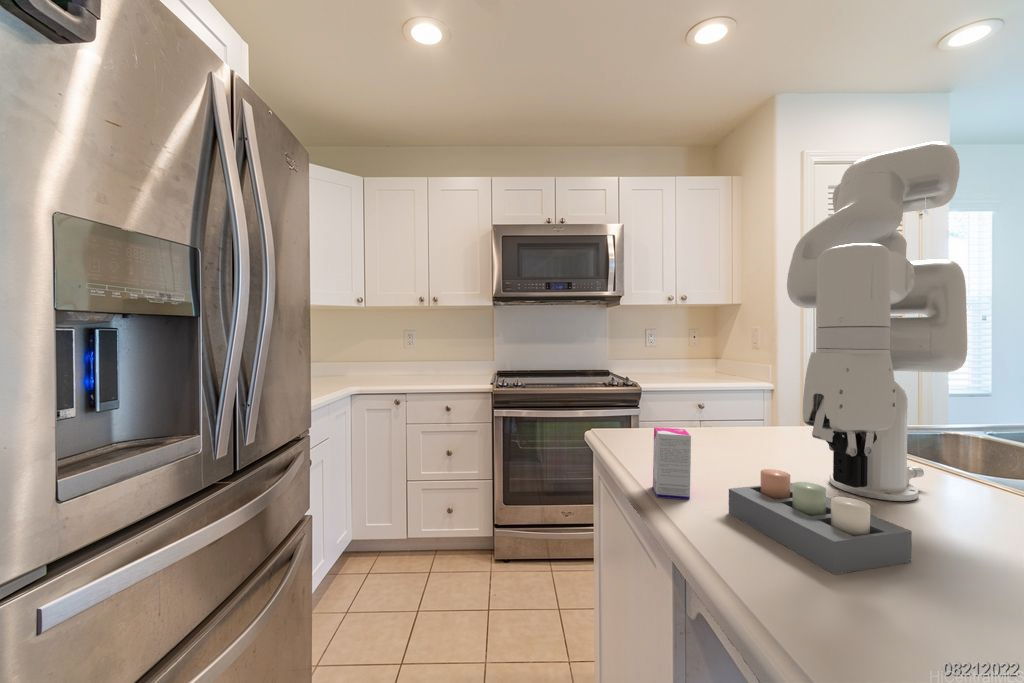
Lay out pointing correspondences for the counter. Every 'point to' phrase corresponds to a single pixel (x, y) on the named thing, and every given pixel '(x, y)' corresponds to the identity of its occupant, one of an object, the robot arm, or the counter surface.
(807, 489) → the sage button
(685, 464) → the supplement box
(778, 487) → the terracotta button
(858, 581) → the counter surface
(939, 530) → the counter surface
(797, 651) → the counter surface
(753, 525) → the tray
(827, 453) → the counter surface
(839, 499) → the cream button
